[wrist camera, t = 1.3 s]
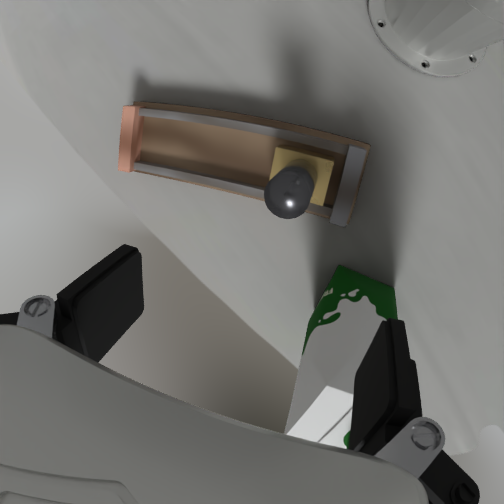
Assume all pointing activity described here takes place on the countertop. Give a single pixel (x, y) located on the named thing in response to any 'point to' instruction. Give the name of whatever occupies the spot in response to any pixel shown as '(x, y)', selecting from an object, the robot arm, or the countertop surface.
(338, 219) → the rail base
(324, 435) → the milk carton
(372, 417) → the robot arm
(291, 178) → the slider
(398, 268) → the countertop surface
